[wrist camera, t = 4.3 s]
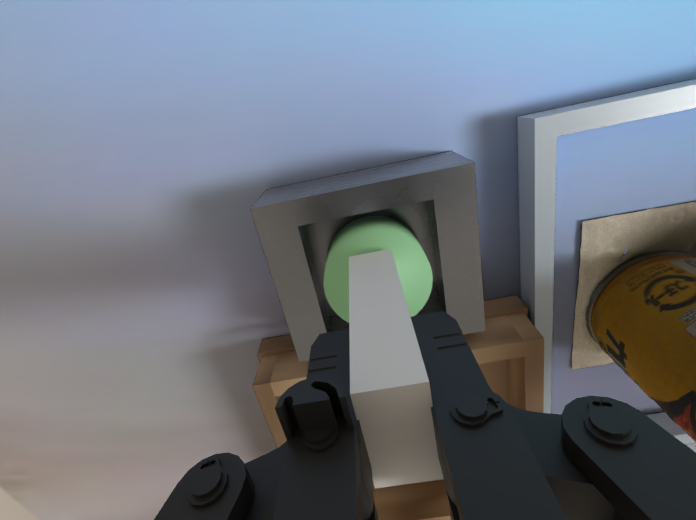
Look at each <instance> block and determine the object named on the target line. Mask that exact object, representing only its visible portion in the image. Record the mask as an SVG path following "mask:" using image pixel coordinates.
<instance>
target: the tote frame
mask: <svg viewBox="0 0 696 520" xmlns="http://www.w3.org/2000/svg"><path fill="white" fill-rule="evenodd" d="M693 108H696V79H692V80H688V81H683V82H678V83H674V84H669V85H664V86H660V87H655V88H650V89H645V90H641V91H636V92H631V93H627V94H622V95H617V96H613V97H608V98H603V99H598V100H594V101H589V102H584V103H580V104H575V105H570V106H566V107H561V108H556V109H551V110H547V111H542V112H537V113H533V114H528V115H523V116H518V117H517V125H518V178H519V231H520V284H521V301H522V302H523V303H524V304H525V306H526V307H527V309H528V319H529V320H530V321H531V323H532V324H533V325H534V326H535V327H536V329H537V330H538V331H539V332H540V334H541V335H542V336H543V337H544V406H543V413H549V414H551V379H552V333H553V287H554V242H555V196H556V150H557V136H562V135H567V134H571V133H576V132H581V131H586V130H591V129H596V128H601V127H605V126H610V125H615V124H620V123H625V122H630V121H634V120H639V119H644V118H649V117H654V116H659V115H663V114H668V113H673V112H678V111H683V110H688V109H693ZM646 416H648V417H649V418H650V419H652V420H653V421H654V422H656V423H657V424H658V425H659V426H661V427H662V428H663V429H665V430H666V431H667V432H669V433H670V434H671V435H673V436H674V437H675V438H677V439H678V440H679V441H681V442H682V443H683V444H690V443H696V442H695V441H694V440H693V439H692V438H691V437H690V436H688V434H687V433H686V432H685V431H684V430H683V429H682V428H681V427H680V426H679V425H678V424H676V423H675V422H674V421H672V420H671V419H670V418H669V416H668V415H667V414H666V412H661V413H655V414H648V415H646Z"/></svg>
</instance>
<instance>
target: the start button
mask: <svg viewBox="0 0 696 520" xmlns="http://www.w3.org/2000/svg"><path fill="white" fill-rule="evenodd" d="M387 249H391V252H392V255H393V258H394V262H395V265H396V269H397V272H398V276H399V279H400V283H401V286H402V289H403V293H404V296H405V300H406V303H407V307H408V310H409V314H410V317H412V316H415V315H417V314H418V313H419V311H420V310H421V309H422V308H423V307H424V305H425V304H426V302H427V300H428V298H429V296H430V293H431V289H432V283H433V276H432V270H431V266H430V263H429V261H428V259H427V257H426V255H425V253H424V251H423V249H422V247H421V245H420V243H419V241H418V239H417V237H416V236H415V234H414V233H413V232H412V231H411V230H410V229H409V228H408V227H407V226H406V225H405V224H403V223H401V222H400V221H398V220H395V219H393V218H390V217H386V216H366V217H362V218H359V219H356V220H354V221H352V222H350V223H348V224H347V225H345V226H344V227H343V228H342V229H341V230H339V231H338V233H337V234H336V235H335V236H334V238H333V240H332V241H331V243H330V246H329V248H328V252H327V258H326V265H325V273H324V291H325V295H326V298H327V301H328V303H329V305H330V306H331V308H332V309H333V310H334V311H335V313H336V314H337V315H338V316H340V317H341V318H342V319H343V320H345V321H346V322H348V323H349V257H350V256H355V255H360V254H366V253H371V252H376V251H382V250H387Z"/></svg>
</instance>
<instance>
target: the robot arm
mask: <svg viewBox="0 0 696 520" xmlns="http://www.w3.org/2000/svg"><path fill="white" fill-rule="evenodd" d="M275 410H276V413H277V416H278V418H279V421H280V424H281V426H282V429H283V432H284V434H285V437H286V439H287V441H286V442H285V443H284V444H282V445H281V446H280V447H279V448H277V449H275V450H273V451H271V452H270V453H268V454H266V455H263V456H261V457H259V458H257V459H254V460H252V461H250V462H248V463H246V464H244V462H243V461H242V460H241V459H240V457H239V456H237V455H234V454H231V453H221V454H215V455H212V456H210V457H208V458H206V459H203V460H201V461H200V462H199V463H198V464H196V465H195V466H194V467H192V468H191V469H190V470H189V471H188V472H187V473H186V474H185V475H184V477H183V478H182V479H181V480H180V481H179V483H178V484H177V486H176V487H175V489H174V490H173V492H172V493H171V495H170V496H169V498H168V499H167V501H166V502H165V504H164V505H163V507H162V508H161V510H160V511H159V513H158V514H157V516H156V518H155V519H154V520H378V514H377V510H376V506H375V503H374V494H373V483H374V487H375V488H383V487H390V486H397V485H404V484H412V483H419V482H426V481H434V480H441V479H444V482H445V486H446V490H447V496H448V503H449V510H450V517H451V520H696V453H695V452H694V451H693V450H691V449H690V448H689V447H687V446H686V445H685V444H683V443H682V442H681V441H679V440H678V439H677V438H675V437H674V436H673V435H671V434H670V433H669V432H667V431H666V430H665V429H663V428H662V427H661V426H659V425H658V424H657V423H656V422H654V421H653V420H652V419H650V418H649V417H648V416H646V415H645V414H644V413H642V412H640V411H639V410H637V409H635V408H633V407H632V406H630V405H628V404H627V403H624V402H621V401H617V400H614V399H611V398H608V397H598V396H587V397H582V398H576V399H575V400H573V401H572V402H570V403H569V404H567V405H566V406H565V408H564V411H563V413H562V415H558V414H549V413H540V412H533V411H527V410H522V409H520V408H517V407H514V406H512V405H510V404H508V403H506V402H505V401H504V400H503V399H502V398H501V396H499V395H498V394H496V393H494V392H493V391H492V390H491V388H490V387H489V385H488V383H487V381H486V379H485V377H484V375H483V373H482V371H481V369H480V367H479V365H478V363H477V361H476V359H475V357H474V355H473V353H472V351H471V349H470V347H469V345H468V343H467V341H466V339H465V336H464V335H463V333H462V330H461V328H460V326H459V324H458V322H457V320H456V319H454V318H453V317H451V316H450V315H449V314H447V313H446V312H444V311H441V312H435V313H430V314H424V315H418V316H412V317H410V314H409V310H408V307H407V303H406V300H405V296H404V293H403V289H402V286H401V283H400V279H399V276H398V272H397V269H396V265H395V262H394V258H393V255H392V252H391V249H387V250H382V251H376V252H371V253H366V254H360V255H355V256H350V257H349V329H345V330H339V331H333V332H328V333H322V334H319V336H318V337H317V339H316V340H315V341H314V343H313V344H312V346H311V350H310V357H309V364H308V374H307V378H306V379H305V380H302V381H299V382H298V383H296V384H294V385H293V386H291V387H289V388H288V389H287V390H286V391H285V392H284V393H283V394H282V395H281V396H280V398H279V400H278V402H277V404H276V406H275Z"/></svg>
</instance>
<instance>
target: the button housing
mask: <svg viewBox="0 0 696 520" xmlns="http://www.w3.org/2000/svg"><path fill="white" fill-rule="evenodd" d="M250 210H251V213H252V216H253V220H254V223H255V226H256V229H257V232H258V235H259V238H260V241H261V244H262V247H263V251H264V254H265V257H266V260H267V263H268V266H269V269H270V272H271V275H272V278H273V282H274V285H275V288H276V291H277V294H278V297H279V300H280V303H281V306H282V309H283V313H284V316H285V319H286V322H287V325H288V328H289V331H290V334H291V337H292V340H293V344H294V347H295V350H296V353H297V356H298V359H299V362H302V361H308V360H309V357H310V350H311V346H312V344H313V343H314V341H315V340H316V339H317V337H318V336H319V334H322V333H328V332H333V331H339V330H345V329H349V323H348V322H346V321H345V320H343V319H342V318H341V317H340V316H338V315H337V314H336V313H335V311H334V310H333V309H332V308H331V306H330V305H329V303H328V301H327V298H326V295H325V291H324V273H325V265H326V258H327V252H328V248H329V246H330V243H331V241H332V240H333V238H334V236H335V235H336V234H337V233H338V231H339V230H341V229H342V228H343V227H344V226H345V225H347V224H348V223H350V222H352V221H354V220H356V219H359V218H362V217H366V216H386V217H390V218H393V219H395V220H398V221H400V222H401V223H403V224H405V225H406V226H407V227H408V228H409V229H410V230H411V231H412V232H413V233H414V234H415V236H416V237H417V239H418V241H419V243H420V245H421V247H422V249H423V251H424V253H425V255H426V257H427V259H428V261H429V263H430V266H431V270H432V276H433V283H432V289H431V293H430V296H429V298H428V300H427V302H426V304H425V305H424V307H423V308H422V309H421V310H420V311H419V313H418V314H417V315H415V316H418V315H424V314H430V313H435V312H441V311H444V312H446V313H447V314H449V315H450V316H451V317H453V318H454V319H456V320H457V322H458V324H459V326H460V328H461V330H462V333H463V334H469V333H475V332H481V331H486V330H485V315H484V300H483V285H482V270H481V254H480V239H479V224H478V209H477V194H476V178H475V163H474V162H473V161H471V160H469V159H467V158H465V157H463V156H461V155H459V154H457V153H455V152H453V151H449V152H444V153H440V154H435V155H430V156H425V157H420V158H416V159H411V160H406V161H401V162H396V163H392V164H387V165H382V166H377V167H372V168H368V169H363V170H358V171H353V172H348V173H344V174H339V175H334V176H329V177H324V178H320V179H315V180H310V181H305V182H300V183H296V184H291V185H286V186H281V187H276V188H272V189H267V190H266V191H265V192H264V193H263V194H262V195H261V197H260V198H259V199H258V200H257V201H256V202H255V203H254V204H253V205H252V207H251V208H250Z"/></svg>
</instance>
